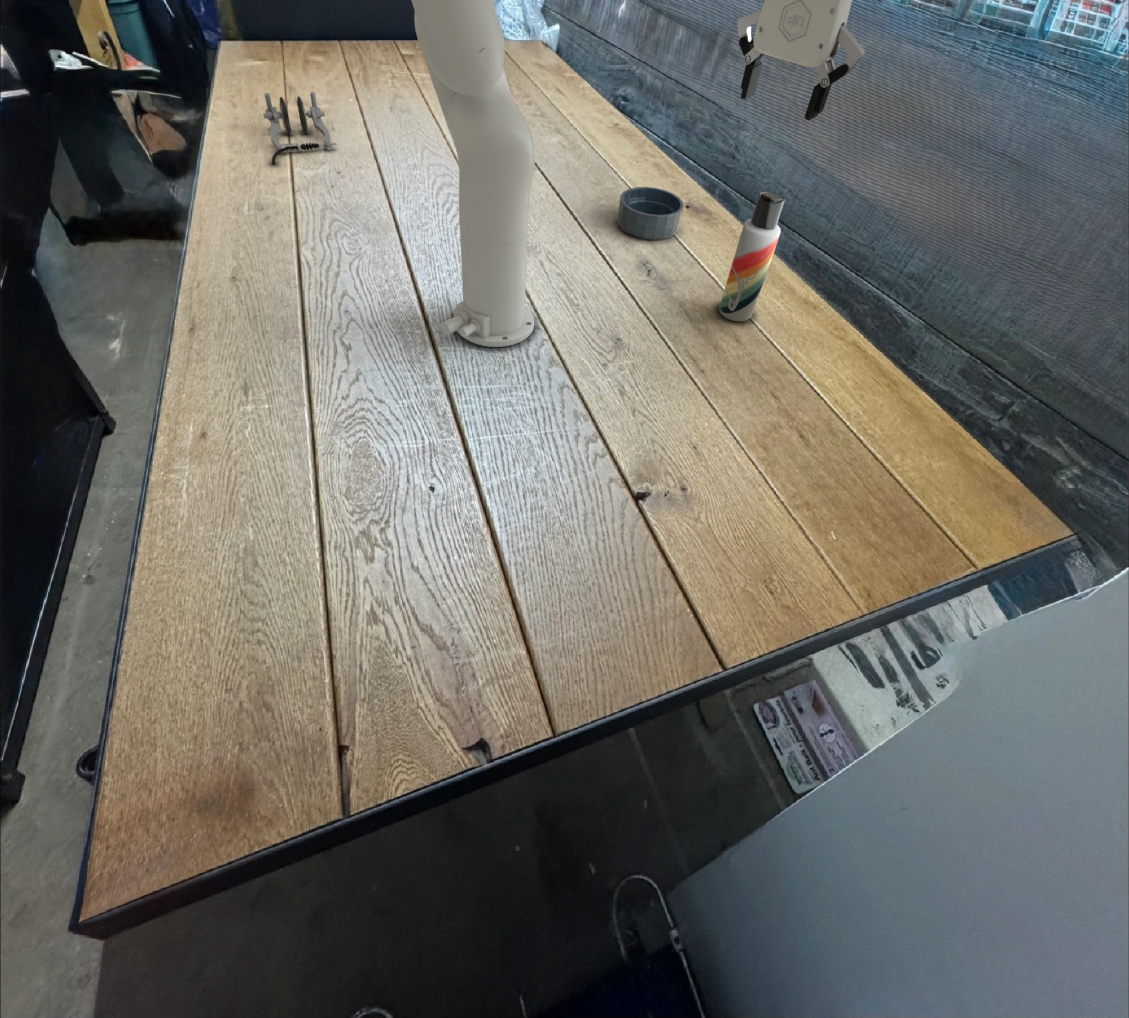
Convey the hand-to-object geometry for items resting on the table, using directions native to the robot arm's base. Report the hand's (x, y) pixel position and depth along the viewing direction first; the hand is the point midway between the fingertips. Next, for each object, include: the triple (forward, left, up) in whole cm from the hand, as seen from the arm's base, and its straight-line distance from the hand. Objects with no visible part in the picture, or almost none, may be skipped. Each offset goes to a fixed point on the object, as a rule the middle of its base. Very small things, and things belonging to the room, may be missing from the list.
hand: (778, 106), depth 89 cm
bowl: (+14, +25, -31) cm, 42 cm away
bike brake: (-13, +98, -31) cm, 103 cm away
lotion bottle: (0, -3, -31) cm, 31 cm away
